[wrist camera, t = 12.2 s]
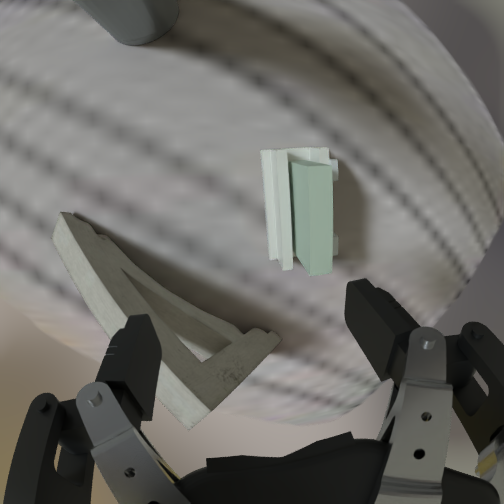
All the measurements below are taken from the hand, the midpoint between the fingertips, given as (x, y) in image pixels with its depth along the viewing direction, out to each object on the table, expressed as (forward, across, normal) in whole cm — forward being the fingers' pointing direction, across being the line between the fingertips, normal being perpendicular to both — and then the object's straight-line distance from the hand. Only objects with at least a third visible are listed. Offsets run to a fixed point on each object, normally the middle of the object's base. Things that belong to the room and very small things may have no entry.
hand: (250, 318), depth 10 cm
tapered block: (+24, -8, +2) cm, 25 cm away
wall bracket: (+25, +10, +12) cm, 29 cm away
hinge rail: (+24, -8, +2) cm, 26 cm away
